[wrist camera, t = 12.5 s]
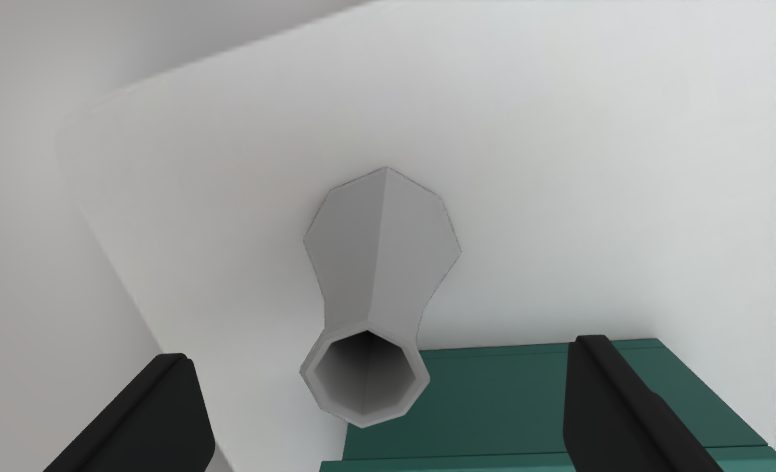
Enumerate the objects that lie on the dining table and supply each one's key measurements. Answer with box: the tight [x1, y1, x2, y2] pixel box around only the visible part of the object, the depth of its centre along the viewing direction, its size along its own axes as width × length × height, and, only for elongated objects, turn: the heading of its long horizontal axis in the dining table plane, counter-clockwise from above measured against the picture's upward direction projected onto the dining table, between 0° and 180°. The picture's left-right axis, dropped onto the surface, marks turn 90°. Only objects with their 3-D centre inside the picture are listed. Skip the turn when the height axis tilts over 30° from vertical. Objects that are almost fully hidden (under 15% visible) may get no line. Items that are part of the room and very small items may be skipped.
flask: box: [300, 167, 462, 428], centre depth 15 cm, size 7×7×10 cm
